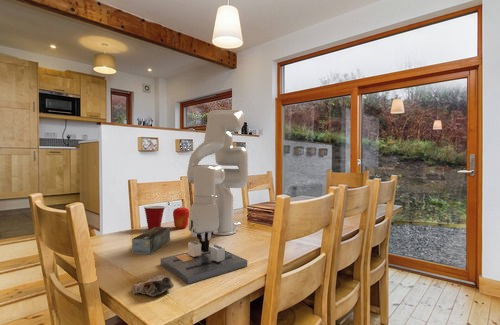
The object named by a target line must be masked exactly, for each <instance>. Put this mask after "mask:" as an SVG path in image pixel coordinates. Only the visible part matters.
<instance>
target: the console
mask: <svg viewBox="0 0 500 325" xmlns="http://www.w3.org/2000/svg"><path fill="white" fill-rule="evenodd" d="M211 247H212V246H209V251H208V252H202V251H201V255H199V256H195V257H193V256H191V255H189V254H188V251H187V252H183V253H179V254H174V255H169V256H166V257H165V256H164V257H160V265H161V266H162V267H163V268H165V269H167V270H168V271H169V272H171V274H173V275H174V276H176V277H177V278H179V279H180V280H181V281H183V282H184V283H186V284H187V285H190V284H193V283H197V282H199V281H204V280H207V279H210V278H213V277H216V276H220V275H224V274H227V273H230V272H232V271H236V270H239V269H242V268H247V267H248V260H247V259H245V258H243V257H241V256H240V255H239V256H238V255H236V254H234V253H232V252H230V251H227V250H225V260H222V261H218V262H216V261H215V260H213V259H211Z"/></svg>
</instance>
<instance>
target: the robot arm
mask: <svg viewBox="0 0 500 325" xmlns="http://www.w3.org/2000/svg"><path fill="white" fill-rule="evenodd" d="M244 126H245V114H244V112H243V111H242V110H239V109H216V110H215V109H214V110H210V111H209V112H208V114H207V121H206V126H205V133H204V140H203V142H202V143H201V144H199V145H198V146H197V147H196V148H195V149H194V151H192V153H191V155H190V157H189V160H188V165H187V172H186V177H187V181H188V183H190V184H192V185H193V204H191V207H190V210H189V218H188V231H190V235H189V236H190V237H192V238H197V239H198V240H199V243H201V251H202V252H208V251H209V247H210V241H211V238H212V236H213V235H215V236H231V235H234V234H236V233H237V229H236V228H237V227H241V225H242V224H241V222H234V196H233V194H232V192H231V191H230V189H243V188H246V187H247V186H248V183H249V181H248V180H249V179H248V177H249V174H248V173H249V172H248V171H249V169H248V166H249V159H248V151H247V149H246V148H245V147H243V146H233V135H232V133H237V132H240V131H241V129H242V128H243V127H244ZM213 154H214V159H215V163H216V164H199V163H200V161H202V160H203V159H204V158H206V157H207V156H210V155H213ZM222 166H223V167H222ZM224 166H225V167H229V166H230V167H231V166H232V167H237V168H224Z"/></svg>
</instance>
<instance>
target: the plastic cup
mask: <svg viewBox="0 0 500 325" xmlns="http://www.w3.org/2000/svg"><path fill="white" fill-rule="evenodd" d="M143 208H144V213H145V217H146V223H147V228H148V230H150V229H152V228H154V227H162V221H163V215H164V211H165V208H166V206H164V205H145V206H143Z"/></svg>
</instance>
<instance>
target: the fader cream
mask: <svg viewBox="0 0 500 325" xmlns="http://www.w3.org/2000/svg"><path fill="white" fill-rule="evenodd" d="M187 252H188V254H189V255H191V256H193V257H195V256H199V255H201V243H200V241H195V240H193V239H192V240H191V241H190V242H188V243H187Z"/></svg>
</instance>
